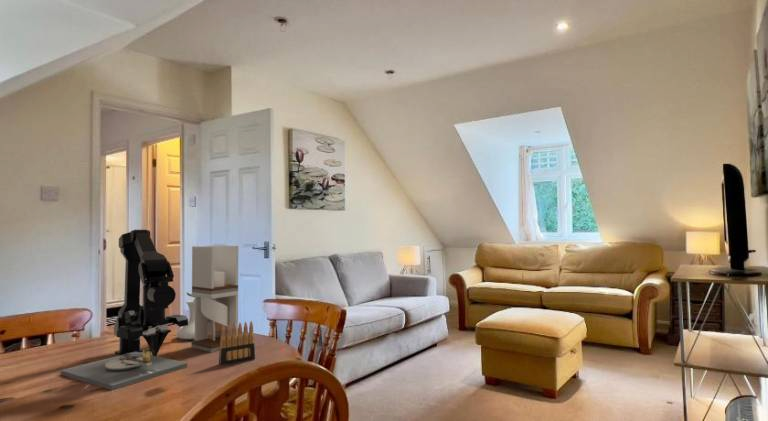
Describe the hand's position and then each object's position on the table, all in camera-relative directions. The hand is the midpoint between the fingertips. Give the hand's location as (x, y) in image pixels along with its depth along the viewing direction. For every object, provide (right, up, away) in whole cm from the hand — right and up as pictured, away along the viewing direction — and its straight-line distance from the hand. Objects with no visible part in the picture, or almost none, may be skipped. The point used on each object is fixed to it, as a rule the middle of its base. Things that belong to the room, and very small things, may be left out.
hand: (154, 356), depth 131 cm
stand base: (-9, -5, +2) cm, 11 cm away
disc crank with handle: (-7, -3, +1) cm, 8 cm away
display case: (+7, -6, +28) cm, 29 cm away
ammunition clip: (+21, -5, +10) cm, 23 cm away
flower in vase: (-5, -6, +41) cm, 41 cm away
